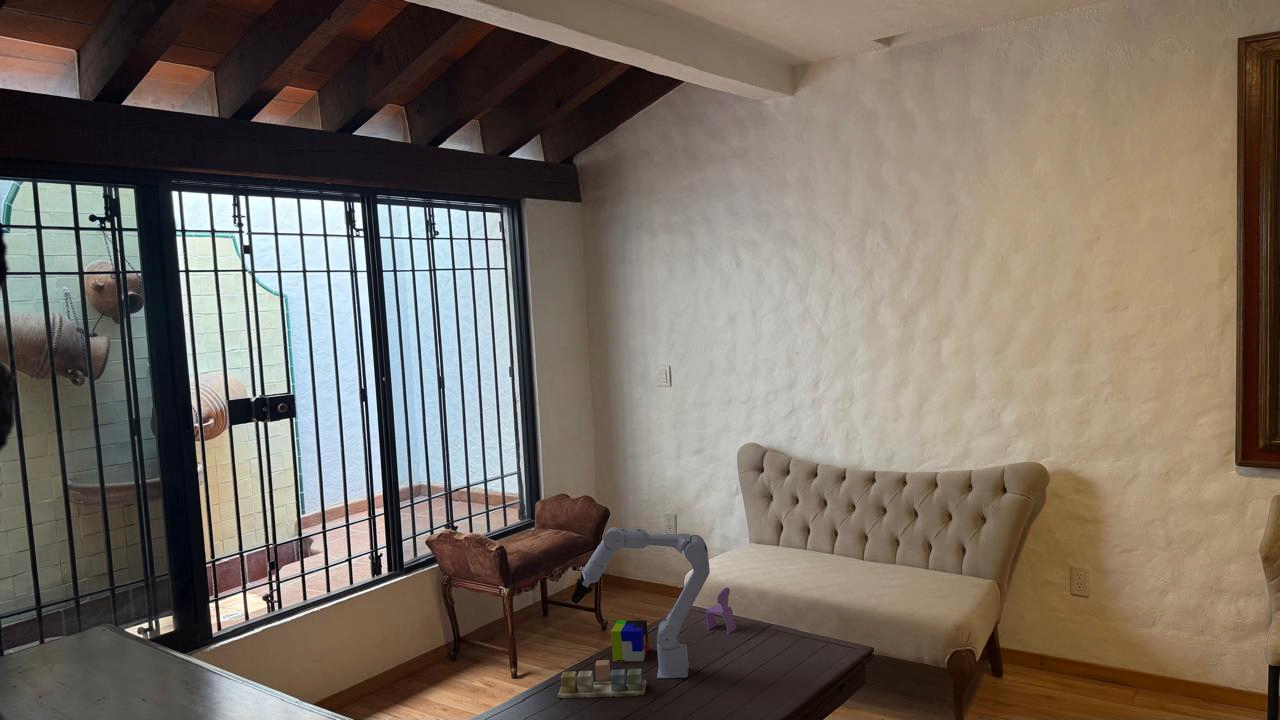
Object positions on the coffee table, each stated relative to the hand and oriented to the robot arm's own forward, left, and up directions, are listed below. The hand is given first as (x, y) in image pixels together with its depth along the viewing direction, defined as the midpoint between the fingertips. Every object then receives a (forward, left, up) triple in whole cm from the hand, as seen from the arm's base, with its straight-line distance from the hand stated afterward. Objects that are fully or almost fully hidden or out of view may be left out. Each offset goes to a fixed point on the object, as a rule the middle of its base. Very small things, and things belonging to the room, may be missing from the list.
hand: (575, 598), depth 277 cm
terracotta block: (-7, +1, -26) cm, 26 cm away
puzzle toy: (-14, -17, -26) cm, 34 cm away
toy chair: (-44, -37, -26) cm, 63 cm away
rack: (-8, +10, -26) cm, 29 cm away
